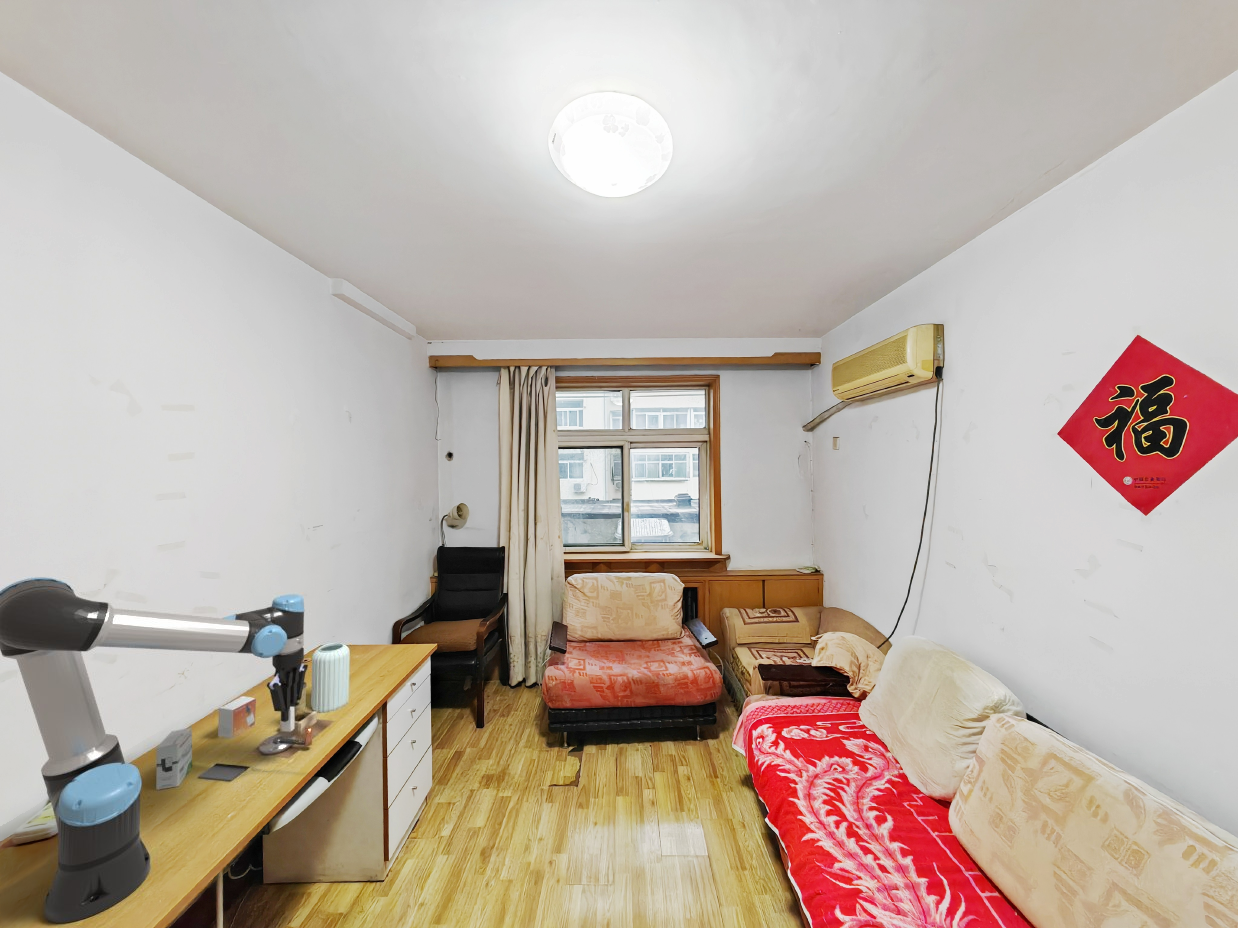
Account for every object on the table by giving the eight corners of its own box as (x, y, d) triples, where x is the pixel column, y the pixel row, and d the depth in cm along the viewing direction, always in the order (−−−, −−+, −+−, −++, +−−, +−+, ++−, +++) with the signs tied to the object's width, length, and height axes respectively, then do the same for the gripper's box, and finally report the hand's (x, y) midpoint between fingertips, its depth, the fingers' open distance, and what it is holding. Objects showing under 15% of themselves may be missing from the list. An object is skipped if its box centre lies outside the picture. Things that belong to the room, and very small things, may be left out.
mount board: (289, 762, 143) (289, 757, 143) (248, 758, 144) (248, 753, 144) (334, 725, 163) (334, 720, 163) (298, 721, 164) (298, 717, 164)
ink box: (171, 770, 138) (172, 729, 138) (192, 767, 140) (193, 726, 139) (154, 790, 130) (155, 747, 130) (177, 786, 132) (178, 743, 131)
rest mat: (230, 781, 134) (230, 779, 134) (197, 778, 135) (197, 776, 135) (260, 758, 144) (260, 757, 144) (229, 755, 145) (229, 754, 145)
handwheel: (300, 757, 143) (300, 736, 142) (251, 752, 144) (251, 732, 144) (321, 739, 152) (322, 720, 151) (275, 735, 153) (275, 715, 153)
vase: (347, 697, 181) (348, 638, 181) (349, 711, 171) (351, 649, 171) (311, 705, 175) (312, 644, 174) (311, 720, 165) (312, 656, 165)
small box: (231, 743, 151) (232, 710, 151) (217, 740, 152) (217, 707, 152) (255, 729, 159) (256, 697, 159) (241, 726, 160) (242, 695, 160)
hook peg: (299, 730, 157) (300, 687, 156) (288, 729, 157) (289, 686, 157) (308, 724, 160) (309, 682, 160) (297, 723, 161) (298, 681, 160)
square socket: (300, 734, 155) (300, 723, 155) (279, 732, 155) (279, 721, 155) (316, 721, 162) (316, 711, 162) (296, 719, 163) (296, 709, 162)
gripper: (282, 660, 133) (282, 744, 134) (316, 641, 146) (316, 718, 147) (257, 658, 133) (257, 742, 134) (293, 639, 146) (293, 716, 147)
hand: (288, 729), depth 140 cm, fingers closed
